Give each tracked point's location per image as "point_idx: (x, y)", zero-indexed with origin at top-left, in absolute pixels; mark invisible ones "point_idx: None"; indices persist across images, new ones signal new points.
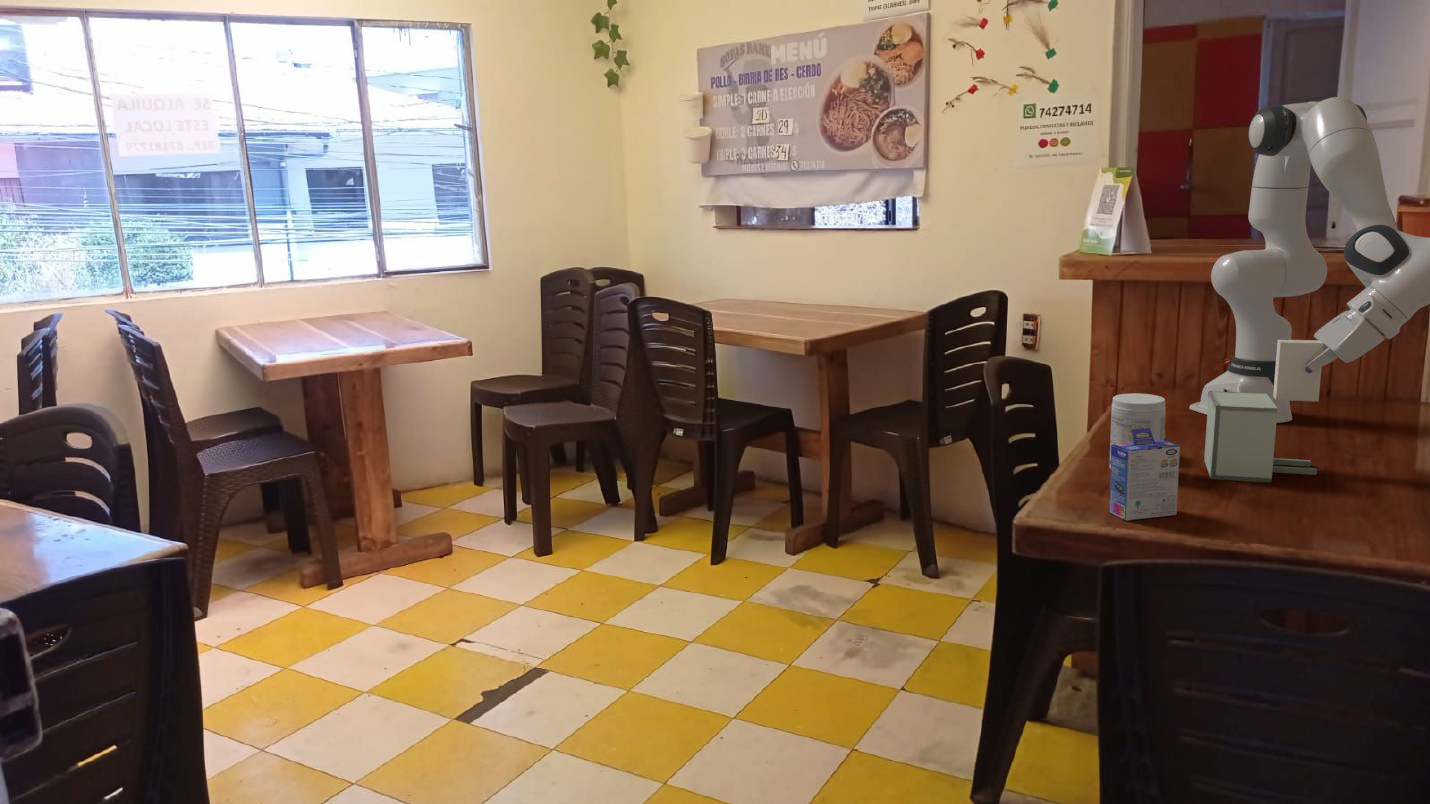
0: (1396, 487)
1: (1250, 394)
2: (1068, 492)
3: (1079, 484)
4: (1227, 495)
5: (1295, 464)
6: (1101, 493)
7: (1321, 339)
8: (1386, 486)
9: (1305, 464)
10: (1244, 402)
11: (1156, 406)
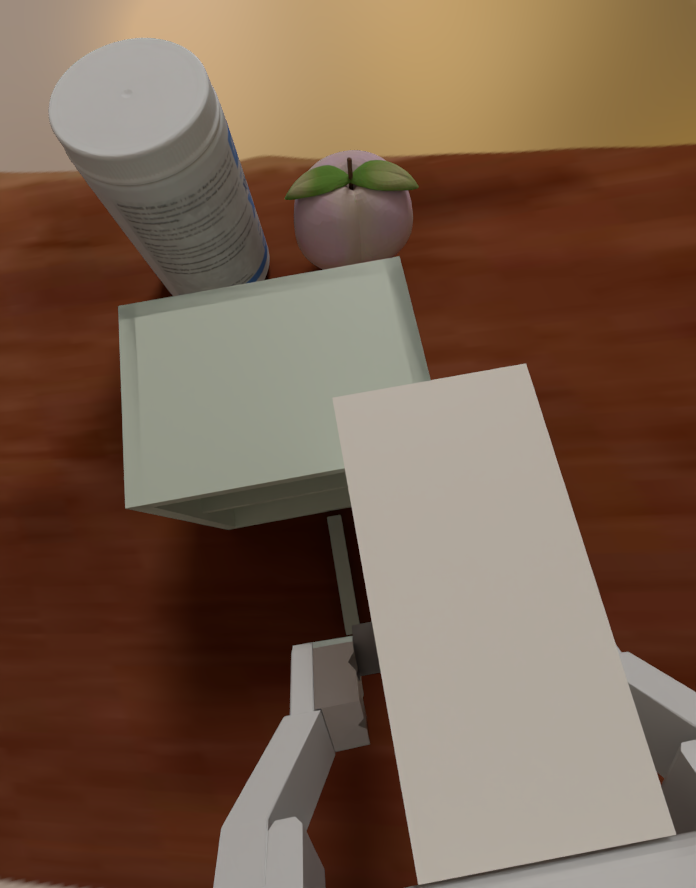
0: None
1: None
2: (34, 199)
3: (93, 203)
4: (92, 450)
5: None
6: (42, 245)
7: (692, 863)
8: None
9: None
10: (211, 386)
11: (73, 157)
